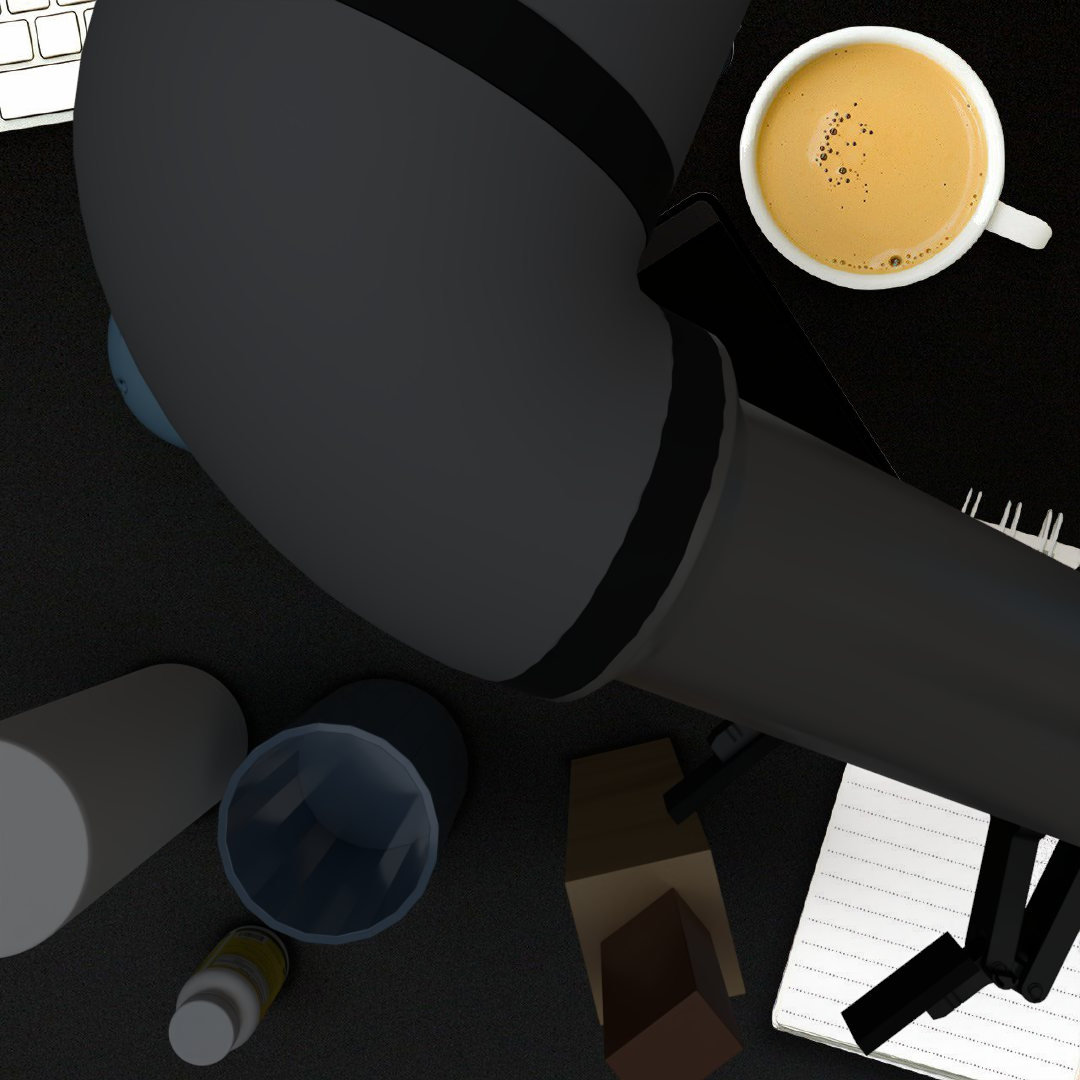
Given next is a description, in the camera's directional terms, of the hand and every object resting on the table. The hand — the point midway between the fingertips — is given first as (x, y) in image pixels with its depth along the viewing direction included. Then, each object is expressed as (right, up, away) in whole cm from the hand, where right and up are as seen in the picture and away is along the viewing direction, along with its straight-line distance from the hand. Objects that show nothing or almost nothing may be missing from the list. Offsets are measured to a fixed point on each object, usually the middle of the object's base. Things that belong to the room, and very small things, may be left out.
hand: (760, 922), depth 45 cm
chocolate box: (-4, -3, +6) cm, 8 cm away
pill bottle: (-34, -16, +33) cm, 50 cm away
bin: (-23, 0, +32) cm, 40 cm away
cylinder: (-40, +2, +33) cm, 52 cm away
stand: (-3, -2, +31) cm, 31 cm away
